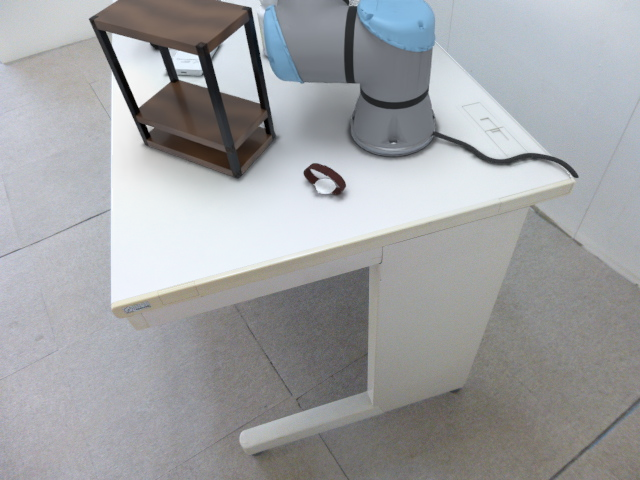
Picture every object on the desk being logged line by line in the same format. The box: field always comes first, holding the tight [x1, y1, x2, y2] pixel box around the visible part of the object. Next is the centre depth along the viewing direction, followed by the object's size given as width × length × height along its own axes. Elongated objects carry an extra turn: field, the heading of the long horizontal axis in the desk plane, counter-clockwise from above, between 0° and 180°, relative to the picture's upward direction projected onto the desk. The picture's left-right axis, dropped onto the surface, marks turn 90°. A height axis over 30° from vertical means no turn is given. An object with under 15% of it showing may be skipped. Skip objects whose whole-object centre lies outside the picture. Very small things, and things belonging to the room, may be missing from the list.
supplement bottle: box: [256, 0, 278, 57], centre depth 107 cm, size 7×7×13 cm
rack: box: [88, 0, 277, 180], centre depth 84 cm, size 12×22×24 cm, turn 60°
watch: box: [303, 162, 347, 196], centre depth 82 cm, size 8×5×4 cm
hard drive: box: [165, 45, 220, 77], centre depth 112 cm, size 2×8×12 cm
